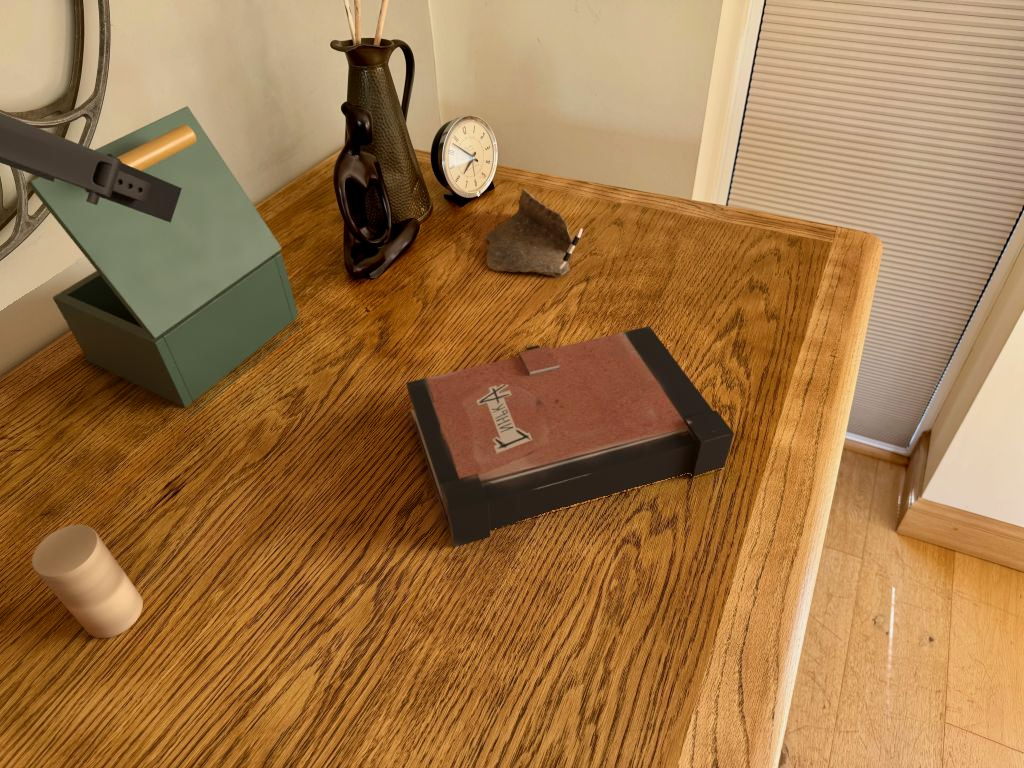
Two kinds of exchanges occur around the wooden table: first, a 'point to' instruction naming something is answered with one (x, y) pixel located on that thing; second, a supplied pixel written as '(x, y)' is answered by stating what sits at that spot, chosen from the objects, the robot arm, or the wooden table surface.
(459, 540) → the red and black box
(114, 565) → the peg
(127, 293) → the lid
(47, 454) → the wooden table surface
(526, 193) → the pottery fragment
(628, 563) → the wooden table surface
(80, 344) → the chest
